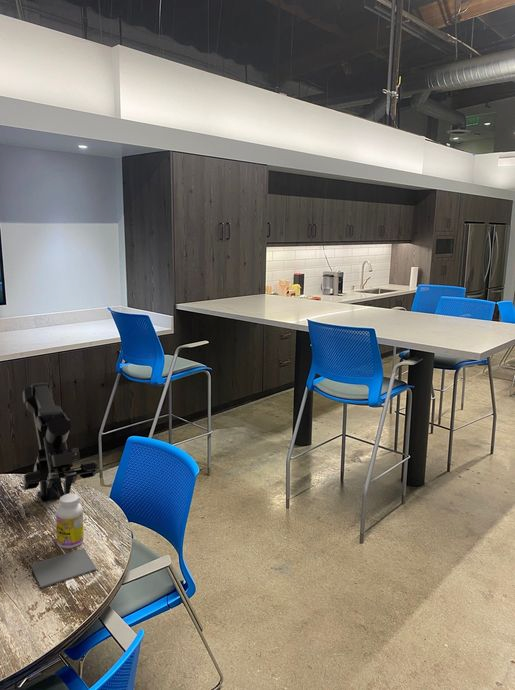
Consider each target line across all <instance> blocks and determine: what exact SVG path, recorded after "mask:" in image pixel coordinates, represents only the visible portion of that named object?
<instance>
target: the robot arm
mask: <svg viewBox="0 0 515 690" xmlns="http://www.w3.org/2000/svg"><path fill="white" fill-rule="evenodd" d="M22 400H23V401H22V402H23V404H25V406H26V411H28V412H29V413H31V414H32V415H33V421H34V426H35V432H36V437H37V442H38V447H39V450H38V453H37V457H36V462H35V464H34V467H33V471H29V472H26V473H25V474H24V475H23V482H22V483H23V490H24V491H27V490H34V489H36V488H38V486H40V487H39V489H40V490H39V491H37V492H36V493H37V496H38V497H39V500H40V501H41V502H42V503H45V502H49V501H52V500H57V499H60V498H61V497H62V496H63V495H66V494H71V487H72V485H73V484H75V483H76V480H77V478H78V475H79V477H80V478H81V479H90V478H93V477H95V476H96V474H97V472H98V470H99V467H98V463H97V462H96V461H95V460H92V461H84V462H81V463H80V466H79V467H75V468H73V466H74V461H79V460H80V458H81V456H80V455H81V454H80V450H79V447H75V448H70V451H69V449H68V445H67V440H68V436H69V433H70V430H71V420H70V418H69V417H68V416H67V414H66V413H65V412H64V411H63V409H62V407H61V406H59V405H58V404H57V405H56V404H55V401H54V399H53V391H52V386H51V385H49V383H48V382H36V383H35V382H34V383H33V384H31V385H30V386H28V387H26V388H24V389H23V392H22ZM61 479H64V480H63V481H64V482H63V483H62V480H61Z"/></svg>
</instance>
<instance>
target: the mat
mask: <svg viewBox="0 0 515 690" xmlns="http://www.w3.org/2000/svg"><path fill="white" fill-rule="evenodd" d="M30 567H31V570H32V572H33V574H34V576H35V579H36V582H37V583H38V586H39V587H40V589H43V588H46V587H49V586H51V585H55V584H58V583H59V584H60V583H61V582H64V581H68V580H71V579H74V578H76V577H80V576H82V575H85V574H88V573H92V572H95V571H97V570H98V568H97V566H96V564H94V562H93V560H92V558H90V556H89V554H88V553H87V551H86V548H85V547H83V548H80V549H75V550H73V551H69V552H65V553H63V554H60V555H55V556H53V557H48V558H46V559H42V560H39V561H36V562H32V563H30Z"/></svg>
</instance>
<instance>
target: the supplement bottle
mask: <svg viewBox="0 0 515 690" xmlns="http://www.w3.org/2000/svg"><path fill="white" fill-rule="evenodd" d="M79 498H80V497H79V495H78V494H76V493H70V494H66V495H63V496H62V497H61V498H59V504H60V505H59V506H58V507H57V508H56V512H55V517H56V518H55V519H56V544H57V546H59V547H60V548H63V549H73V548H77V547H78V546H79V545H81V544H82V543H83V541H84V508H83V506H82V504H81V503H79V502H80V499H79Z"/></svg>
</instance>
